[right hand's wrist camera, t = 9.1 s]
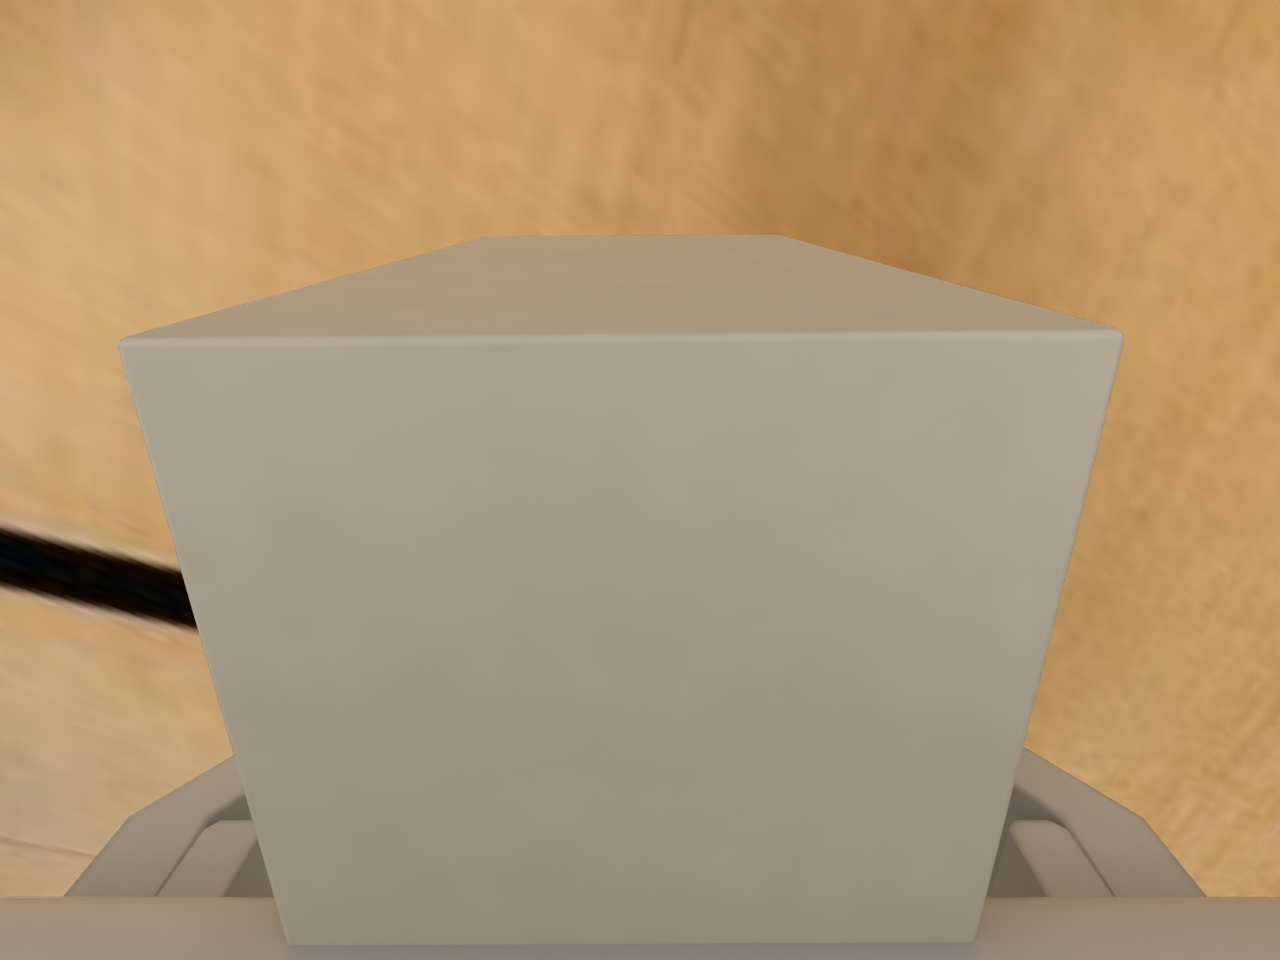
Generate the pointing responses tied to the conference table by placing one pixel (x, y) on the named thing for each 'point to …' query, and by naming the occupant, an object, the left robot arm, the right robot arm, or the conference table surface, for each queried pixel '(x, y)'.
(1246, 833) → the conference table surface
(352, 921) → the bar
